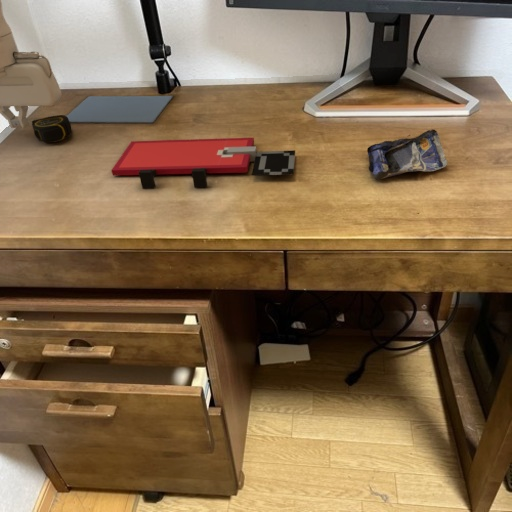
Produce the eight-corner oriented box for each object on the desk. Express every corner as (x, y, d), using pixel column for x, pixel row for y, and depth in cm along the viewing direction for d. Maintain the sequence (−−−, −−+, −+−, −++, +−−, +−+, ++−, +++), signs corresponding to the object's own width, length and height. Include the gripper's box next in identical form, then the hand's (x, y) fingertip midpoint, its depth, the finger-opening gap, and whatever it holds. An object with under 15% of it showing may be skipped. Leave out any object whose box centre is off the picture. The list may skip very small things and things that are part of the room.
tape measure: (71, 128, 99) (65, 110, 97) (76, 141, 94) (70, 122, 92) (36, 136, 97) (29, 118, 95) (38, 149, 92) (32, 130, 90)
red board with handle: (293, 185, 75) (296, 143, 87) (292, 169, 74) (295, 128, 86) (105, 189, 79) (133, 148, 91) (101, 173, 77) (129, 134, 89)
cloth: (60, 122, 102) (60, 121, 102) (89, 97, 113) (88, 96, 112) (153, 123, 99) (152, 121, 98) (173, 97, 109) (172, 95, 109)
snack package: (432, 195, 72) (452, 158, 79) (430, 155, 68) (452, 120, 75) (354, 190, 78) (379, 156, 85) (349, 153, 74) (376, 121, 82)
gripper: (53, 46, 88) (76, 120, 96) (-48, 49, 91) (-17, 120, 100) (36, 57, 83) (61, 133, 92) (-71, 59, 86) (-36, 133, 95)
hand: (20, 126), depth 96 cm, fingers closed
